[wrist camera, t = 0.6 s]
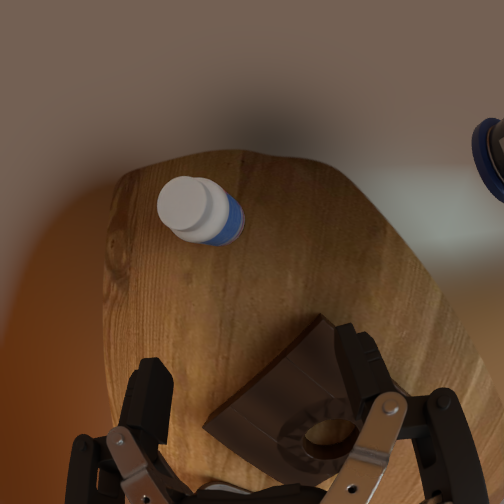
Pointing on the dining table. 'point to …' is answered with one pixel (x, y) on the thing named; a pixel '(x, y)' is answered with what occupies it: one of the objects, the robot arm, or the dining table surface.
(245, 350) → the dining table surface
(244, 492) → the tin
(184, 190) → the pill bottle
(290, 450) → the base pad
